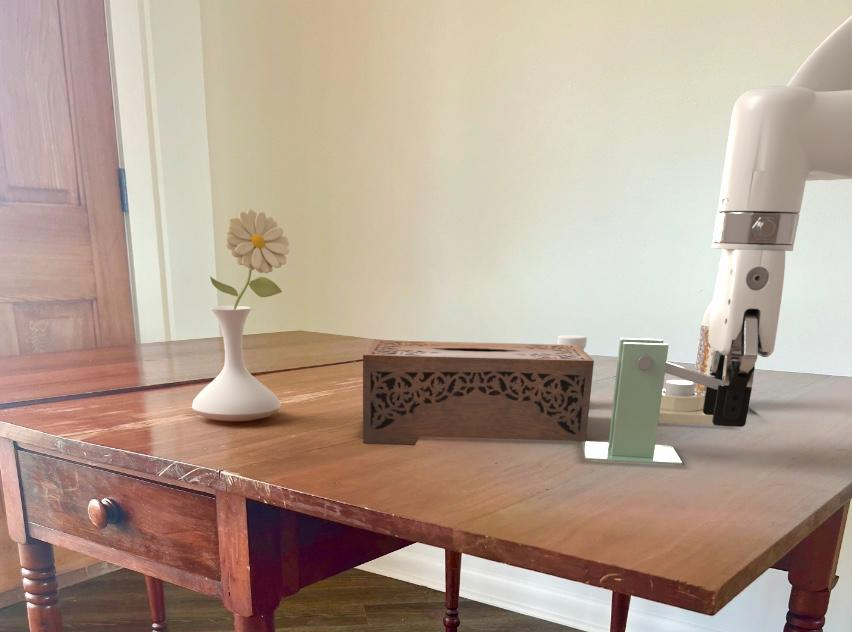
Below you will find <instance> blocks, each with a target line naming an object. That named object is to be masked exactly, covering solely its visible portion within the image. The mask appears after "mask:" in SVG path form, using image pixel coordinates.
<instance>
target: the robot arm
mask: <svg viewBox="0 0 852 632" xmlns="http://www.w3.org/2000/svg"><path fill="white" fill-rule="evenodd" d="M837 180H838V181H839V180H840V181H841V180H852V14H851V15H850V16H849V17H848V18H847V19H846V20H844V21H843V22H842V23H841V24H840V25H839V26H837V28H835V30H833V31H832V32H831V33H830V34H828V35H827V37H826V38H825V39H824V40H822V41H821V42H820V44H819V45H818V46H817V47H816V48H814V50H813V51H812V52H811V53H810V54H809V55H808V57H807V58H806V59H804V61H803V62H802V63H801V65H800V66H799V68H798V69H797V70H796V72H795V73H794V74H793V76H792V77H791V79H790V80H789V82H788V83H787V84H786V85H776V86H764V87H763V86H762V87H756V88H752V89H749V90H747V91H745V92H743V93H742V94H741V95H740V96H738V98H737V100H736V101H735V103H734V106H733V108H732V114H731V121H730V126H729V133H728V140H727V145H726V153H725V160H724V166H723V174H722V180H721V185H720V194H719V199H718V206H717V213H716V218H715V225H714V230H713V237H712V238H713V239H712V245H711V249H714V250H722V251H721V256H720V260H719V261H720V262H719V265H718V268H717V276H716V282H715V288H714V293H713V299H712V300H713V304H712V311H711V317H710V325H709V335H708V342H709V344H710V345H711V346H712V347H713V348H714V353H713V357H712V362H711V366H710V373H709V375H710V376H715V377H714V378H717V379H720V380H722V385H718V390H716V389H713V388H710V387H706V393H705V399H704V406H703V413H704V414H706V415H713V420H712V422H713V424H714V425H713V426H717V427H735V428H736V427H737V428H743V427H744V426H746V424H747V418H748V412H749V407H750V400H751V396H752V390H753V385H754V376H755V370H756V368H755V367H756V362H757V361H758V356H760V357H762V358H769V357H770V356H771V355H772V354H773V353H774V350H775V345H776V340H777V339H776V338H777V332H778V326H779V320H780V319H779V318H780V312H781V304H782V296H783V290H784V279H785V271H786V252H793V251H794V246H795V241H796V236H797V230H798V225H799V220H800V213H801V209H802V203H803V198H804V194H805V187H806V182H811V181H837Z"/></svg>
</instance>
